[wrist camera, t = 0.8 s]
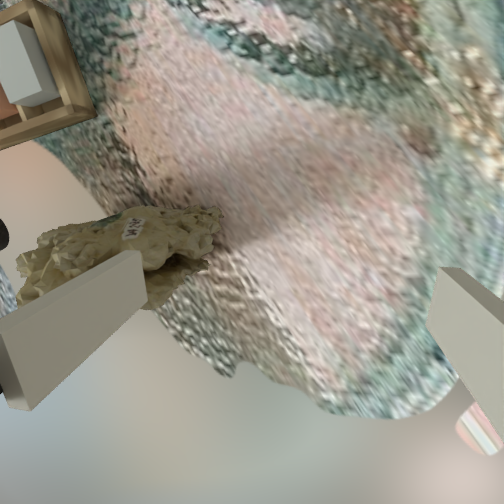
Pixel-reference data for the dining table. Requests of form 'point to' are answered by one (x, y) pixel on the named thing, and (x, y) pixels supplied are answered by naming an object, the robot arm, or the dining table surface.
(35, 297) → the coral
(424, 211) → the dining table surface
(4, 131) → the wooden compartment tray
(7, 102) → the key terracotta
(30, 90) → the key bluegrey
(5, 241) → the travel mug
